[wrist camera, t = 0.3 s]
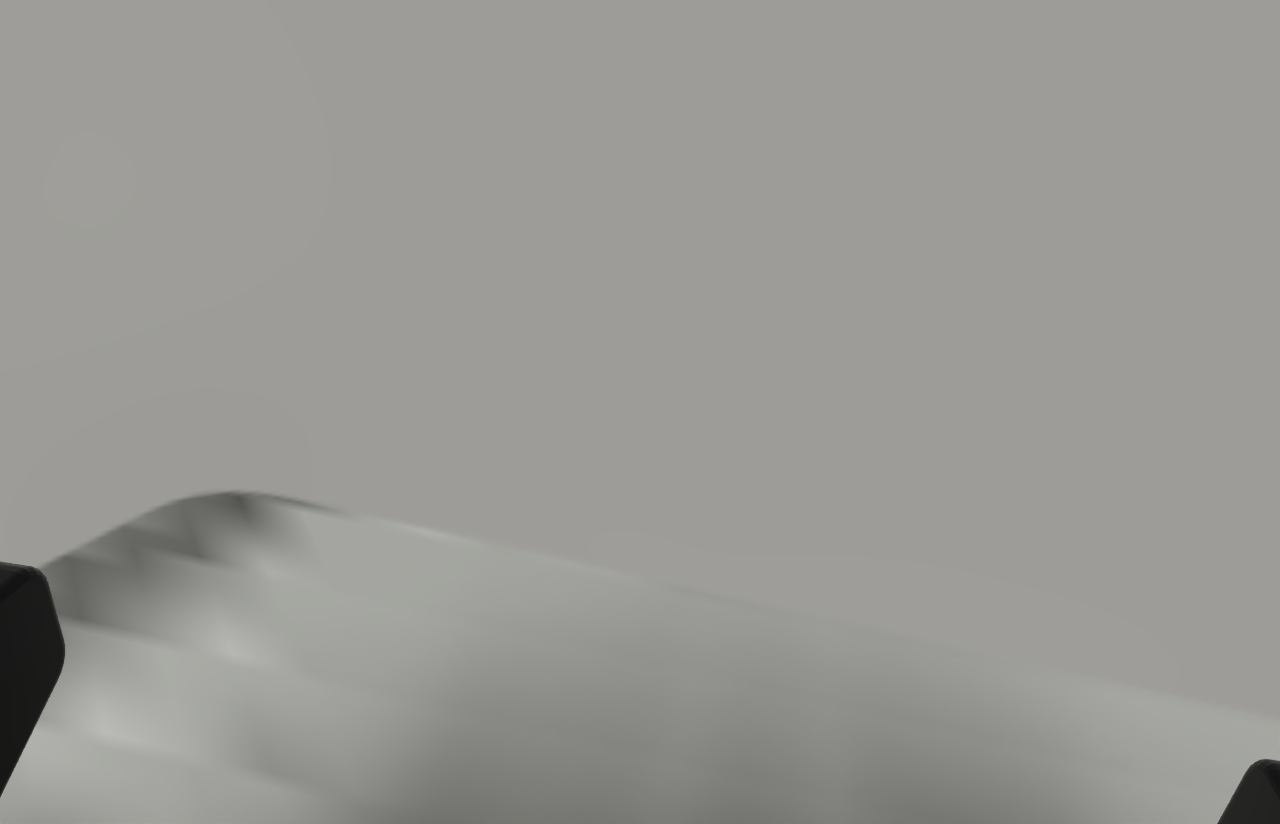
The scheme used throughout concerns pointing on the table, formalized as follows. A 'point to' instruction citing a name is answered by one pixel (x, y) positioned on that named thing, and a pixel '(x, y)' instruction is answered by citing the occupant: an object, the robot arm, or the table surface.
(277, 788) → the table surface
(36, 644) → the robot arm
